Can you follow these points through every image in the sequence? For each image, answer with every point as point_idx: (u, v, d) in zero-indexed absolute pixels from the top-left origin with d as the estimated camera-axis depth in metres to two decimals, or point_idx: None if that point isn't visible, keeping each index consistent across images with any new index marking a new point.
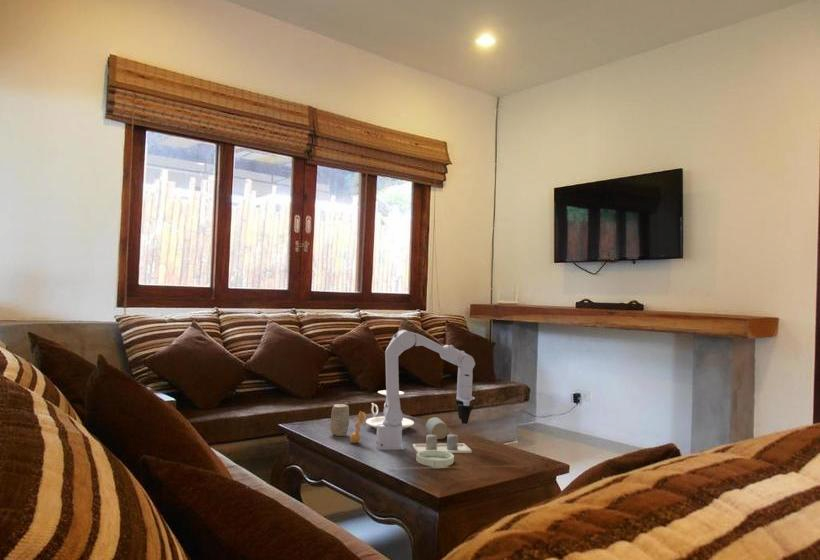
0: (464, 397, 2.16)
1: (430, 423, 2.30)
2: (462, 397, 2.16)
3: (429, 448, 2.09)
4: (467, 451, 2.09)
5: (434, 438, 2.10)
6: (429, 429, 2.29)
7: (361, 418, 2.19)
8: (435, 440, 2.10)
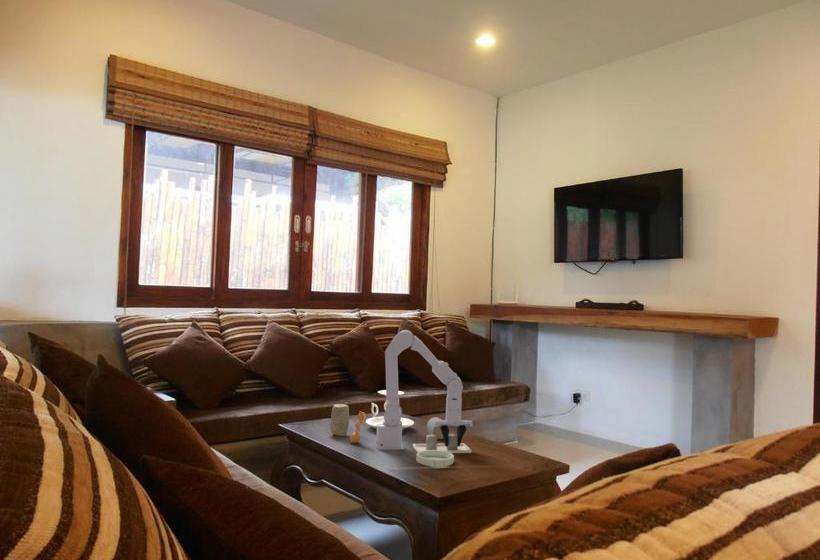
0: (445, 420, 2.13)
1: (431, 423, 2.30)
2: None
3: (429, 448, 2.09)
4: (467, 451, 2.09)
5: (434, 438, 2.10)
6: (430, 429, 2.29)
7: (361, 418, 2.19)
8: (435, 440, 2.10)
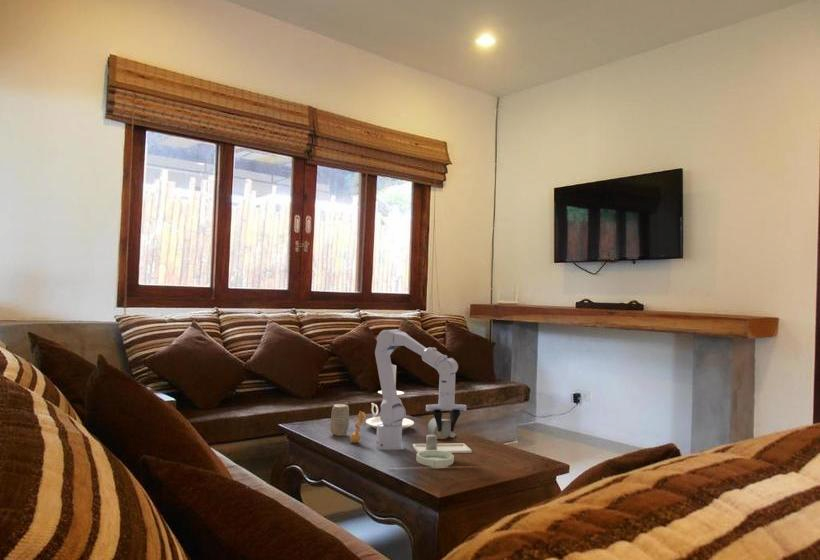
0: (438, 404, 2.04)
1: (432, 423, 2.30)
2: (438, 403, 2.04)
3: (429, 448, 2.09)
4: (467, 451, 2.09)
5: (434, 438, 2.10)
6: (431, 429, 2.29)
7: (361, 418, 2.19)
8: (435, 440, 2.10)
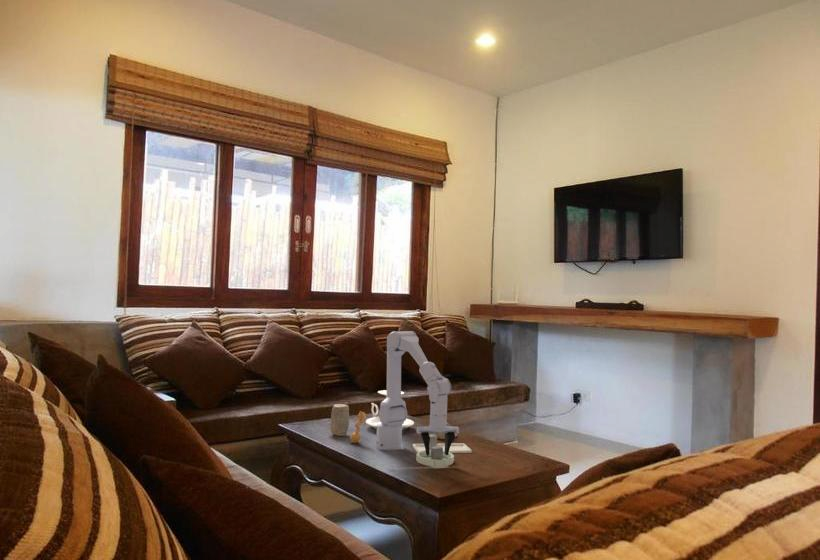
0: (429, 426, 1.95)
1: None
2: None
3: (429, 448, 2.09)
4: (467, 451, 2.09)
5: (434, 438, 2.10)
6: None
7: (361, 418, 2.19)
8: (435, 440, 2.10)
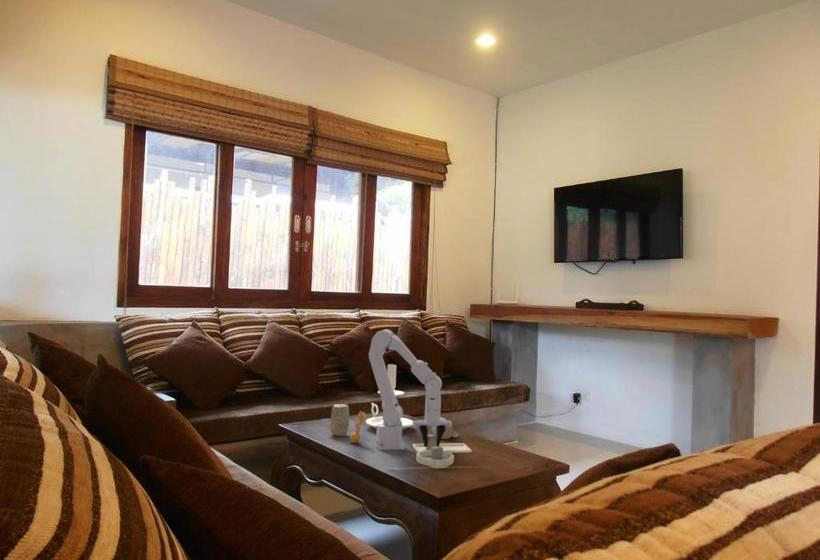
0: (424, 420, 2.11)
1: None
2: None
3: (429, 448, 2.09)
4: (467, 451, 2.09)
5: (434, 438, 2.10)
6: (434, 429, 2.30)
7: (361, 418, 2.19)
8: (435, 440, 2.10)
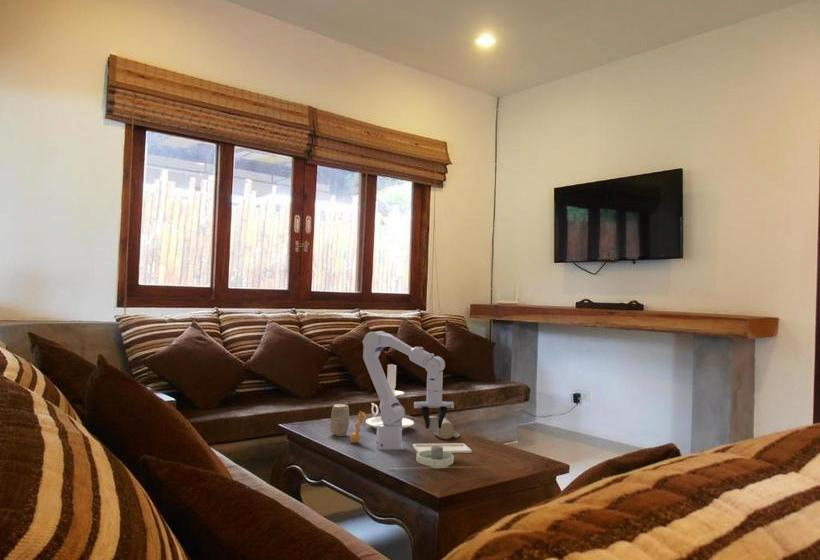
0: (426, 401, 2.08)
1: None
2: (426, 401, 2.08)
3: (431, 429, 2.06)
4: (467, 451, 2.09)
5: (436, 419, 2.06)
6: None
7: (361, 418, 2.19)
8: (437, 422, 2.06)
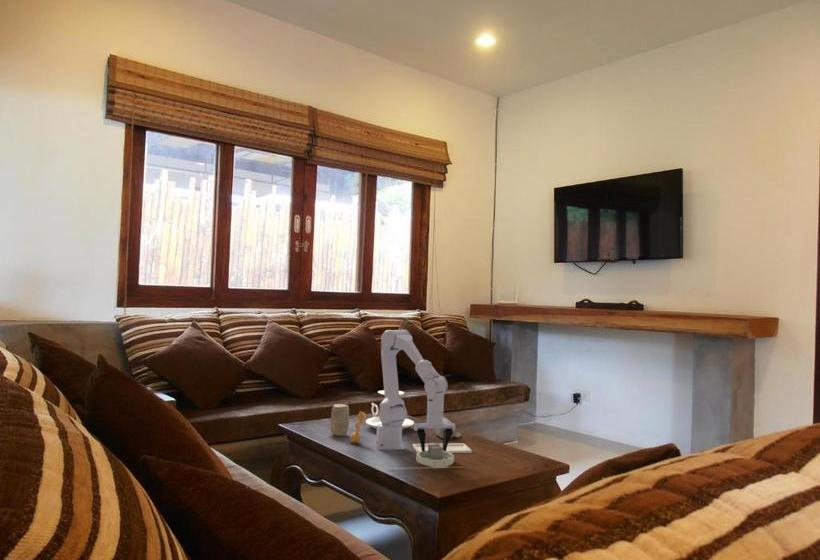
0: (426, 423, 1.99)
1: None
2: None
3: None
4: (467, 451, 2.09)
5: None
6: None
7: (361, 418, 2.19)
8: None
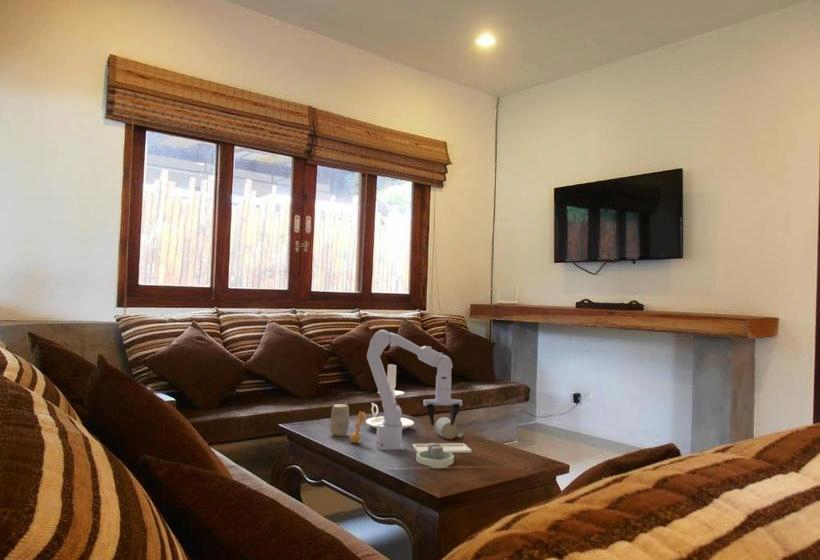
0: (435, 398, 2.13)
1: (439, 423, 2.31)
2: (435, 398, 2.14)
3: None
4: (467, 451, 2.09)
5: None
6: (439, 429, 2.30)
7: (361, 418, 2.19)
8: None
